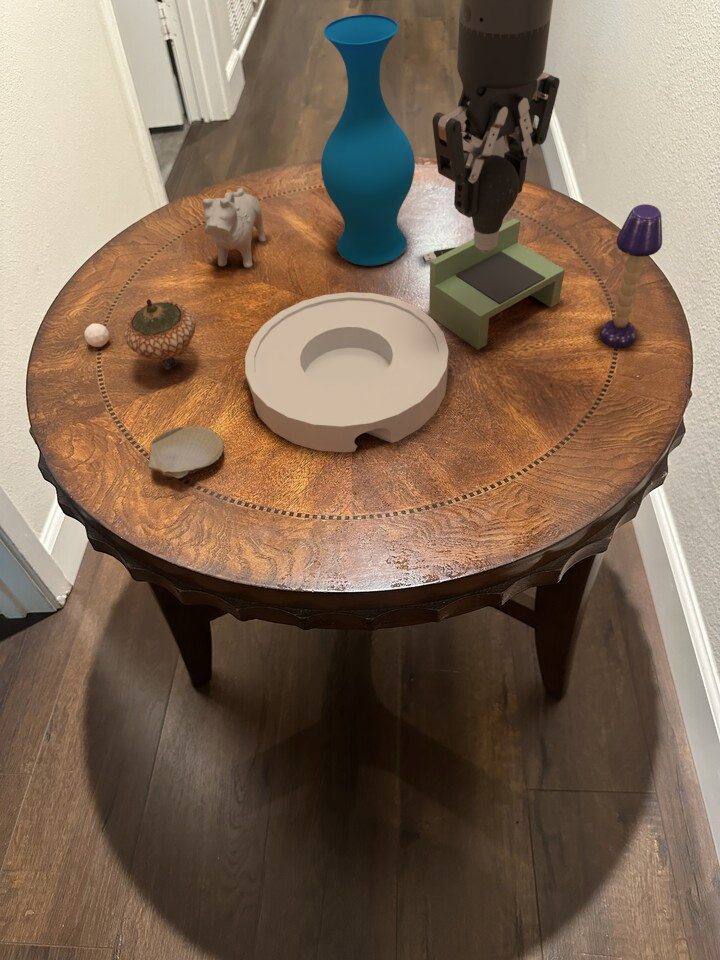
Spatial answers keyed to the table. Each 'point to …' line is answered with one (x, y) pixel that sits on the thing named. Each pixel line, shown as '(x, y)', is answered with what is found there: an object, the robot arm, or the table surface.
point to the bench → (489, 283)
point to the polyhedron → (96, 335)
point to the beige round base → (347, 370)
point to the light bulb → (494, 200)
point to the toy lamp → (633, 269)
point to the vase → (367, 148)
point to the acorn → (160, 331)
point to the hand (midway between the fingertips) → (489, 201)
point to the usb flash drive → (435, 254)
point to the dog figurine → (233, 224)
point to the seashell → (184, 450)
